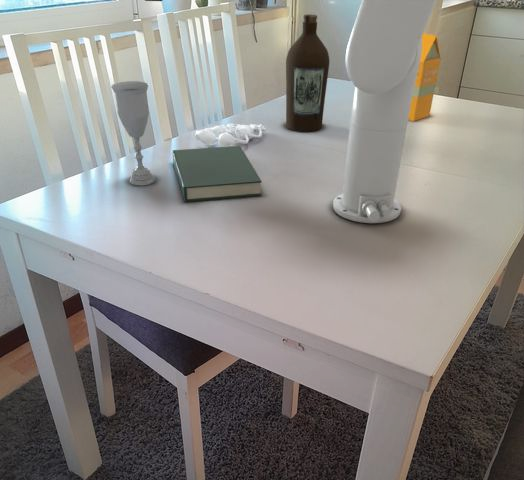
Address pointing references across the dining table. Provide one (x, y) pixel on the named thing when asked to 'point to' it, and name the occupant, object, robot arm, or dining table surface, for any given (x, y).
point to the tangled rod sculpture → (228, 134)
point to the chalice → (134, 121)
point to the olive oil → (306, 79)
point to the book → (215, 174)
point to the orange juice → (425, 78)
